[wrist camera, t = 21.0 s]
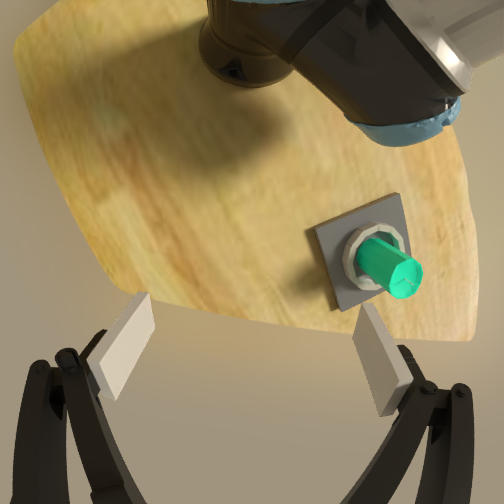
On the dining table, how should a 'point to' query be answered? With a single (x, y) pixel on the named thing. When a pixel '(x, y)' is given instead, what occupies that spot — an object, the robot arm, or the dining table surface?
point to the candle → (390, 267)
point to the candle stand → (350, 240)
